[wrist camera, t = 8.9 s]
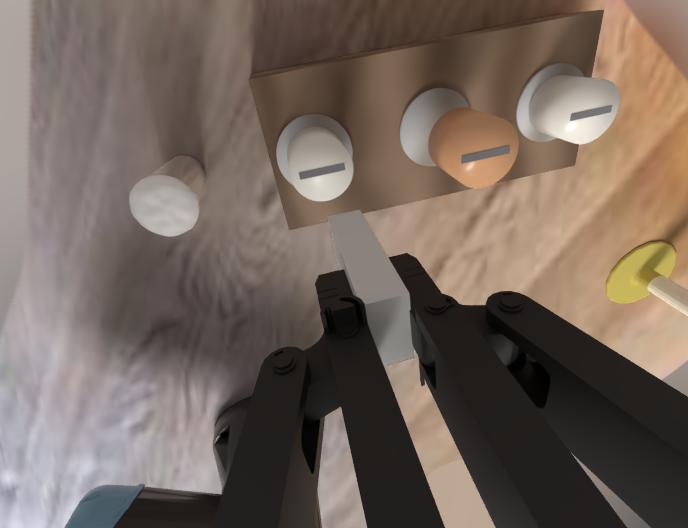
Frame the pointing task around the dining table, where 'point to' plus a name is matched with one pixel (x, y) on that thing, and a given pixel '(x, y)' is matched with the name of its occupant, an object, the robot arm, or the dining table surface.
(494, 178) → the knob middle
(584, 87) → the knob
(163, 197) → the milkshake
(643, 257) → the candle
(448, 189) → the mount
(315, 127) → the knob
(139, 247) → the dining table surface
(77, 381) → the dining table surface
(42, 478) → the dining table surface
